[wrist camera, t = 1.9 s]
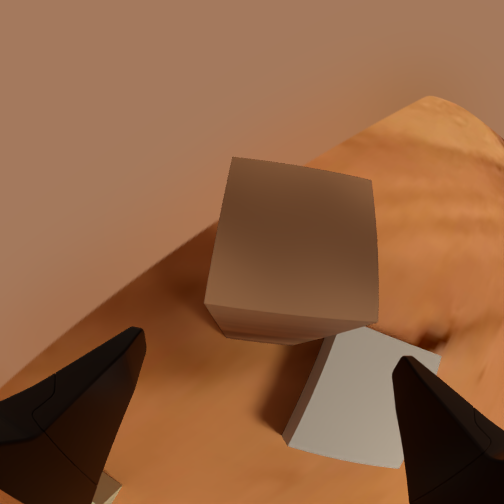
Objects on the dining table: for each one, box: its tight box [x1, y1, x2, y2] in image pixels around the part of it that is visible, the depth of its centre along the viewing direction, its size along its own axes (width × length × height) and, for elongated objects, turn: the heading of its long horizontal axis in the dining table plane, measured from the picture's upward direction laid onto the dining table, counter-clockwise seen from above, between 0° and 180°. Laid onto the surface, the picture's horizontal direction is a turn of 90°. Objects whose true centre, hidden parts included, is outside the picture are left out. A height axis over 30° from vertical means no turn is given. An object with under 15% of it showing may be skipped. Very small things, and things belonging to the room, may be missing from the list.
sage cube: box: [92, 471, 122, 504], centre depth 11 cm, size 4×4×4 cm
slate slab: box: [282, 326, 441, 469], centre depth 16 cm, size 9×9×3 cm
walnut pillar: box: [204, 157, 379, 345], centre depth 14 cm, size 4×4×13 cm
